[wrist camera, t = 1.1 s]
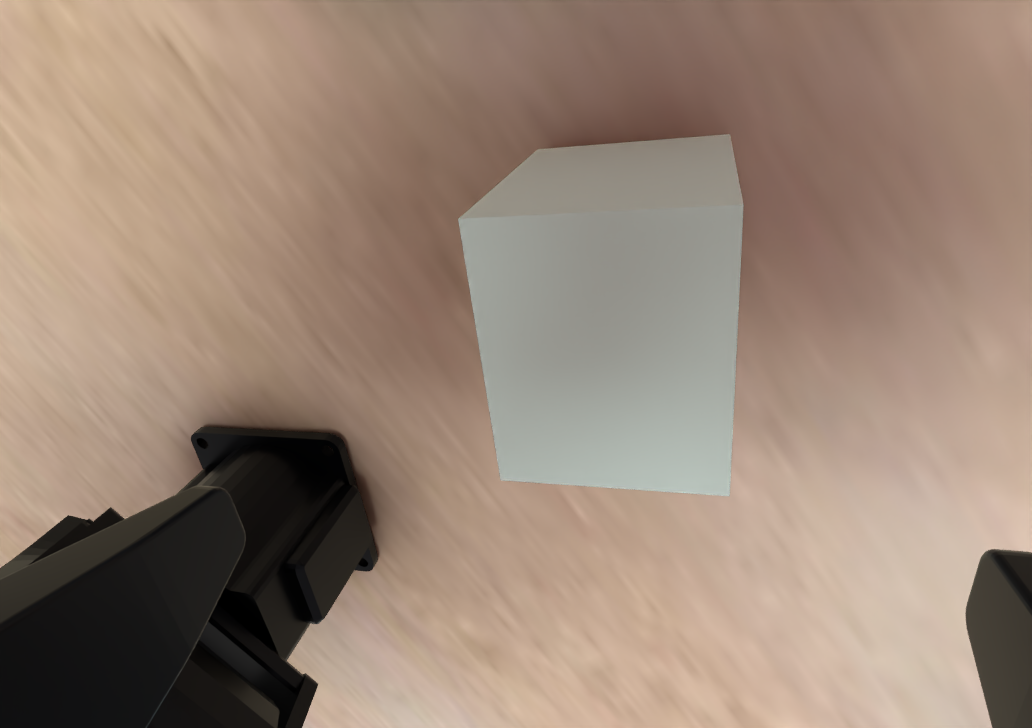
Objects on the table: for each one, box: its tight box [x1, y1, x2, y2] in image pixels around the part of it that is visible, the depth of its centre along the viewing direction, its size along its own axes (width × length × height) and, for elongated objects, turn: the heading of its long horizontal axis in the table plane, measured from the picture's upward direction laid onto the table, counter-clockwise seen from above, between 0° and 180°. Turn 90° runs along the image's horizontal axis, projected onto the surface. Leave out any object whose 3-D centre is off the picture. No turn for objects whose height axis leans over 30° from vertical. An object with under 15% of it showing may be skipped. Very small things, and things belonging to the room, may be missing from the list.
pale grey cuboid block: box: [458, 134, 744, 496], centre depth 14 cm, size 4×6×7 cm
